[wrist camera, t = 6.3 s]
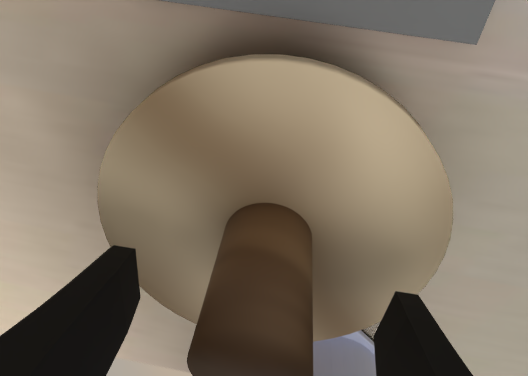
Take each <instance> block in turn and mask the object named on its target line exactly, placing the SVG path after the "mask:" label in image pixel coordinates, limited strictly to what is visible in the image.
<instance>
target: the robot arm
mask: <svg viewBox="0 0 528 376" xmlns="http://www.w3.org/2000/svg"><path fill="white" fill-rule="evenodd" d="M139 300H140V289H139V279H138V269H137V259H136V249H134V248H128V247H122V246H116V245H113V246H112V247H110V248H109V249H108V250H107V251H106V252H105V253H103V254H102V255H101V256H100V257H99V258H98V259H96V260H95V261H94V262H93V263H92V264H91V265H89V266H88V267H87V268H86V269H85V270H84V271H82V272H81V273H80V274H79V275H78V276H77V277H75V278H74V279H73V280H72V281H71V282H69V283H68V284H67V285H66V286H65V287H63V288H62V289H61V290H60V291H58V292H57V293H56V294H55V295H53V296H52V297H51V298H50V299H48V300H47V301H46V302H45V303H44V304H42V305H41V306H40V307H38V308H37V309H36V310H34V311H33V312H32V313H30V314H29V315H28V316H26V317H25V318H24V319H22V320H21V321H20V322H18V323H17V324H16V325H14V326H13V327H12V328H10V329H9V330H8V331H6V332H5V333H4V334H2V335H1V336H0V376H106V374H107V373H108V371H109V369H110V367H111V365H112V363H113V361H114V359H115V357H116V355H117V353H118V351H119V349H120V347H121V345H122V343H123V341H124V339H125V337H126V335H127V333H128V330H129V327H130V325H131V322H132V319H133V317H134V314H135V311H136V308H137V306H138V303H139ZM313 376H473V375H472V374H471V372H470V371H469V369H468V368H467V366H466V365H465V364H464V362H463V361H462V359H461V358H460V357H459V355H458V354H457V352H456V351H455V349H454V348H453V346H452V345H451V343H450V342H449V340H448V339H447V338H446V336H445V335H444V333H443V332H442V330H441V329H440V327H439V326H438V324H437V323H436V321H435V319H434V318H433V316H432V315H431V313H430V312H429V310H428V309H427V307H426V306H425V304H424V303H423V301H422V300H421V299H420V297H419V296H418V295H417V294H411V293H405V292H399V291H395V293H394V295H393V297H392V299H391V301H390V304H389V306H388V308H387V310H386V312H385V314H384V316H383V318H382V320H381V322H380V324H379V326H378V328H377V331H376V333H375V335H374V342H373V341H372V340H371V339H370V338H369V337H368V336H367V335H366V334H364V333H363V332H362V331H361V330H360V331H357V332H354V333H351V334H348V335H344V336H340V337H336V338H332V339H327V340H321V341H314V342H313Z"/></svg>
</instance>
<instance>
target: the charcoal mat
mask: <svg viewBox="0 0 528 376" xmlns="http://www.w3.org/2000/svg"><path fill="white" fill-rule="evenodd" d="M161 1H168V2H175V3H182V4H190V5H197V6H204V7H211V8H218V9H225V10H232V11H239V12H247V13H254V14H261V15H268V16H275V17H282V18H289V19H296V20H304V21H311V22H318V23H325V24H332V25H339V26H346V27H353V28H361V29H368V30H375V31H382V32H389V33H396V34H403V35H410V36H418V37H425V38H432V39H439V40H446V41H453V42H460V43H467V44H475V45H477V43H478V40H479V38H480V35H481V33H482V31H483V28H484V26H485V23H486V21H487V19H488V16H489V14H490V11H491V9H492V7H493V4H494V2H495V0H161Z"/></svg>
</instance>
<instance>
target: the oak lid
mask: <svg viewBox="0 0 528 376" xmlns="http://www.w3.org/2000/svg"><path fill="white" fill-rule="evenodd" d="M97 191H98V208H99V214H100V219H101V223H102V226H103V229H104V232H105V235H106V238H107V240H108V242H109V244H110V246H111V247H112V246H113V245H116V246H122V247H128V248H134V249H136V259H137V269H138V279H139V286H140V287H141V288H143V289H144V290H145V291H146V292H147V293H148V294H149V295H150V296H152V297H153V298H154V299H155V300H157V301H158V302H159V303H161V304H162V305H163V306H165V307H167V308H168V309H170V310H171V311H173V312H174V313H176V314H178V315H180V316H182V317H183V318H185V319H187V320H189V321H191V322H193V323H196V324H197V325H196V329H195V332H194V336H193V339H192V342H191V346H190V349H189V353H188V357H187V364H188V368H189V370H190V372H191V374H192V375H193V376H313V342H314V341H321V340H327V339H332V338H336V337H340V336H344V335H348V334H351V333H354V332H357V331H360V330H362V329H365V328H368V327H370V326H372V325H374V324H376V323H378V322H380V321H381V320H382V318H383V316H384V314H385V312H386V310H387V308H388V306H389V304H390V301H391V299H392V297H393V295H394V293H395V291H399V292H405V293H411V294H418V293H419V292H420V291H421V290H422V289H423V288H424V287H425V286H426V285H427V284H428V282H429V281H430V279H431V278H432V277H433V275H434V274H435V273H436V271H437V269H438V267H439V265H440V263H441V261H442V260H443V258H444V256H445V253H446V250H447V247H448V244H449V241H450V237H451V231H452V224H453V199H452V194H451V189H450V185H449V180H448V177H447V174H446V172H445V170H444V167H443V165H442V162H441V160H440V158H439V156H438V154H437V153H436V151H435V149H434V148H433V146H432V144H431V143H430V141H429V139H428V138H427V136H426V135H425V133H424V131H423V130H422V128H421V127H420V125H419V124H418V123H417V122H416V120H415V119H414V118H413V117H412V116H411V115H410V114H409V112H408V111H407V110H406V109H405V108H404V107H403V106H402V105H401V104H400V103H398V102H397V101H396V100H395V99H394V98H392V97H391V96H390V95H389V94H388V93H386V92H385V91H384V90H382V89H381V88H379V87H377V86H376V85H374V84H373V83H371V82H369V81H368V80H366V79H364V78H363V77H361V76H359V75H356V74H354V73H352V72H349V71H347V70H345V69H343V68H340V67H338V66H335V65H332V64H328V63H325V62H321V61H317V60H314V59H310V58H304V57H297V56H289V55H282V54H251V55H244V56H237V57H229V58H224V59H220V60H217V61H213V62H210V63H206V64H203V65H200V66H197V67H195V68H193V69H191V70H188V71H186V72H184V73H182V74H180V75H177V76H176V77H174V78H173V79H171V80H170V81H168V82H167V83H165V84H163V85H162V86H160V87H159V88H157V89H156V90H155V91H154V92H153V93H152V94H151V95H150V96H148V97H147V98H146V99H145V100H144V101H143V102H142V103H141V104H140V105H139V106H138V107H137V108H136V109H134V110H133V111H132V112H131V113H130V114H129V116H128V117H127V118H126V119H125V121H124V122H123V123H122V124H121V126H120V127H119V128H118V130H117V131H116V132H115V134H114V136H113V138H112V140H111V142H110V143H109V145H108V147H107V149H106V152H105V155H104V158H103V161H102V164H101V167H100V172H99V179H98V186H97Z"/></svg>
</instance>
